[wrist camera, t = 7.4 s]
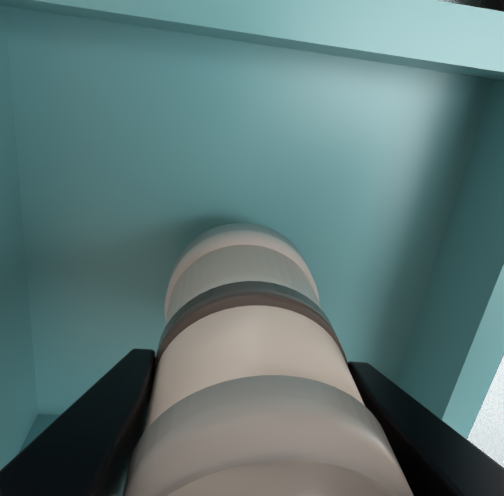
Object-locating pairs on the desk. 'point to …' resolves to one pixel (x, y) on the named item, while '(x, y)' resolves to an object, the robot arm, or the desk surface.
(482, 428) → the desk surface
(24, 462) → the robot arm
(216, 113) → the parts tray
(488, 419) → the desk surface
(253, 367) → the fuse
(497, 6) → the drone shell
